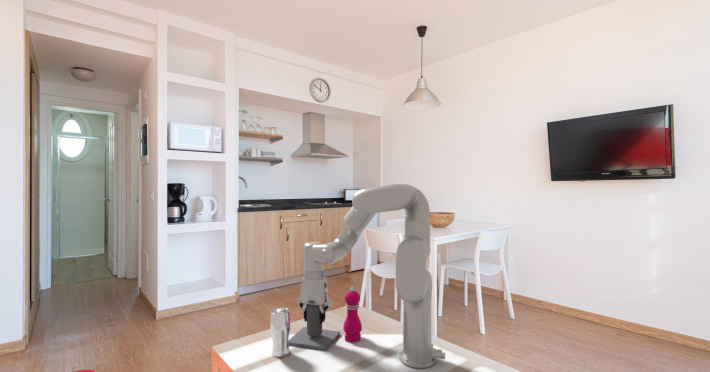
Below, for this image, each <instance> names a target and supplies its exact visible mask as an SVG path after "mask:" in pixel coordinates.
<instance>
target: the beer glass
mask: <svg viewBox="0 0 710 372" xmlns="http://www.w3.org/2000/svg"><path fill="white" fill-rule="evenodd" d="M290 312H291V311H290V309H289V308H287V307H276V308H273V309H272V310H271V311H270V323H269V324H270V333H271V337H272V351H271V355H272V356H273V357H275V358H282V357H286V356H288V355H289V354H290V351H291V350H290V347H289V346H290V345H288V340H289V339H290V338H289V336H290V332H291V313H290Z"/></svg>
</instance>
